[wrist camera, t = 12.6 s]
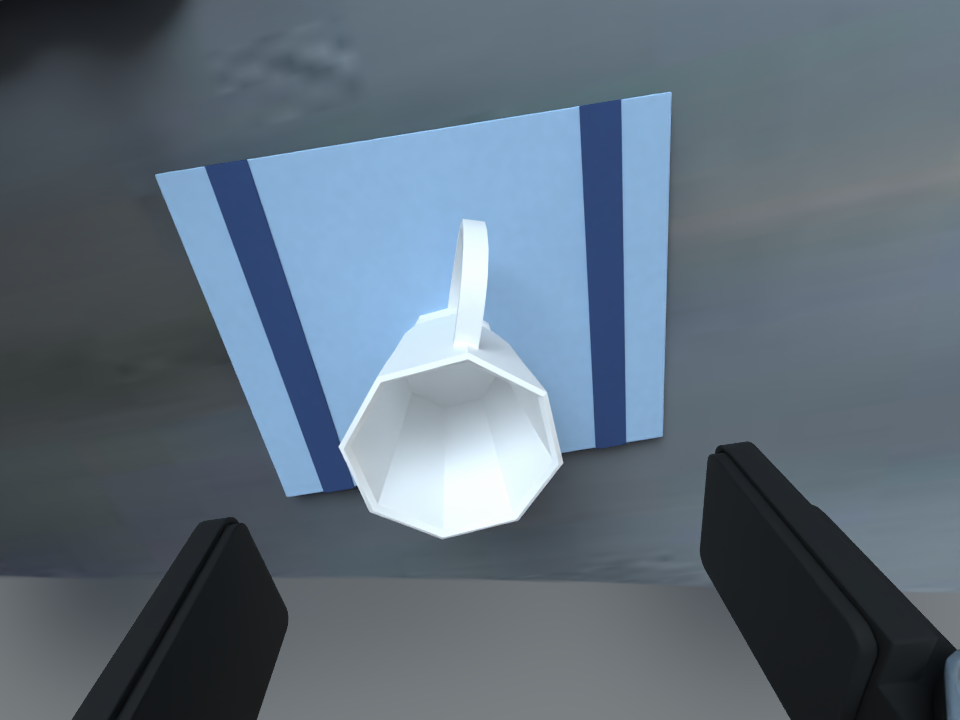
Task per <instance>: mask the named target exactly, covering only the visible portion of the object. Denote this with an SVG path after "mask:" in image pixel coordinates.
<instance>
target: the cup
mask: <svg viewBox="0 0 960 720" xmlns="http://www.w3.org/2000/svg"><path fill="white" fill-rule="evenodd" d="M488 252H489V247H488V236H487V228H486V224H485V222H484V221H476V220H469V219H462V221H461V224H460V229H459V234H458V240H457V246H456V252H455V258H454V265H453V271H452V278H451V285H450V292H449V301H448V308H447V309H443V310H440V311H436V312H432V313H429V314H425V315H421V316H420V317H419V318H418V320H417V322H416V324H415V326H414V327H412V328H411V329H410V330H409V331H407V332H406V333H405V334H404V336H403V338H402V339H401V341H400V342H399V344H398V346H397V347H396V349H395V351H394V352H393V354H392V355H391V356H390V358H389V359H388V361H387V362H386V364H385V365H384V367H383V368H382V370H381V372H380V373H379V375H378V376H377V378H376V380H375V382H374V384H373V385H372V387H371V389H370V391H369V393H368V394H367V396H366V398H365V400H364V402H363V403H362V405H361V407H360V409H359V411H358V413H357V414H356V416H355V418H354V420H353V422H352V423H351V425H350V427H349V429H348V431H347V432H346V434H345V436H344V438H343V440H342V442H341V443H340V445H339V449H340V451H341V453H342V455H343V457H344V459H345V461H346V463H347V465H348V467H349V470H350V472H351V474H352V476H353V478H354V480H355V482H356V484H357V486H358V488H359V491H360V493H361V495H362V497H363V499H364V501H365V503H366V505H367V507H368V509H369V511H370V512H371V513H374V514H377V515H379V516H382V517H384V518H387V519H390V520H392V521H395V522H398V523H400V524H403V525H406V526H408V527H411V528H414V529H416V530H419V531H422V532H424V533H427V534H430V535H432V536H435V537H438V538H440V539H446V538H450V537H454V536H458V535H462V534H466V533H470V532H474V531H478V530H482V529H486V528H490V527H494V526H498V525H502V524H506V523H510V522H514V521H518V520H519V519H520V518H521V517H522V515H523V514H524V513H525V511H526V510H527V509H528V508H529V506H530V505H531V504H532V502H533V501H534V500H535V499H536V497H537V496H538V495H539V494H540V492H541V491H542V490H543V488H544V487H545V486H546V485H547V483H548V482H549V481H550V479H551V478H552V477H553V476H554V474H555V473H556V472H557V470H558V469H559V468H560V467H561V465H562V464H563V460H562V455H561V451H560V447H559V442H558V438H557V433H556V429H555V425H554V420H553V416H552V411H551V407H550V403H549V398H548V394H547V392H546V390H545V389H544V388H543V386H542V385H541V384H540V382H539V381H538V380H537V379H536V377H535V376H534V375H533V374H532V373H531V371H530V370H529V369H528V368H527V367H526V365H525V364H524V363H523V362H522V360H521V359H520V358H519V356H518V355H517V354H516V352H515V351H514V350H513V348H512V347H511V346H510V344H509V343H507V342H506V341H505V340H503V339H502V338H501V337H499V336H498V335H497V334H495V333H494V332H493V331H491V330H490V326H489V323H487V322H486V321H484V320H483V315H484V308H485V299H486V289H487V279H488Z"/></svg>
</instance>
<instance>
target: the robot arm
mask: <svg viewBox="0 0 960 720" xmlns="http://www.w3.org/2000/svg"><path fill="white" fill-rule="evenodd" d="M700 556H701V560H702V563H703V566H704V568H705V570H706V572H707V574H708V575H709V577H710V579H711V581H712V583H713V584H714V586H715V588H716V590H717V591H718V593H719V595H720V597H721V598H722V600H723V602H724V604H725V605H726V607H727V609H728V611H729V612H730V614H731V616H732V618H733V619H734V621H735V623H736V625H737V626H738V628H739V630H740V632H741V633H742V635H743V637H744V639H745V640H746V642H747V644H748V645H749V647H750V649H751V651H752V653H753V654H754V656H755V658H756V660H757V661H758V663H759V665H760V667H761V668H762V670H763V672H764V674H765V675H766V677H767V679H768V681H769V682H770V684H771V686H772V688H773V689H774V691H775V693H776V694H777V696H778V698H779V700H780V702H781V703H782V705H783V707H784V709H785V710H786V712H787V714H788V716H789V717H790V719H791V720H960V650H957V649H956V648H955V647H954V646H953V645H952V644H951V643H950V642H949V641H948V640H947V639H946V638H945V637H944V636H943V635H942V634H941V633H940V632H939V631H938V630H937V629H936V628H935V627H934V626H933V625H932V624H931V623H930V621H929V620H928V619H926V617H925V616H924V615H923V614H922V613H921V612H920V611H919V610H918V609H917V608H916V607H915V606H914V605H913V604H912V603H911V602H910V601H909V600H908V599H907V598H906V597H905V596H904V595H903V593H902V592H901V591H900V590H899V589H898V588H897V587H896V586H895V585H894V584H893V583H892V582H891V581H890V580H889V579H888V578H887V577H886V576H885V575H884V574H883V573H882V572H881V571H880V570H879V569H878V568H877V567H876V566H875V565H874V563H873V562H872V561H871V560H870V559H869V558H868V557H867V556H866V555H865V554H864V553H863V552H862V551H861V550H860V549H859V548H858V547H857V546H856V545H855V544H854V543H853V542H852V541H851V540H850V539H849V538H848V537H847V536H846V534H845V533H844V532H843V531H842V530H841V529H840V528H839V527H838V526H837V525H836V524H835V523H834V522H833V521H832V520H831V519H830V518H829V517H828V516H827V515H826V514H825V513H824V512H823V511H822V510H820V509H819V508H818V507H816V506H814V505H811V504H810V503H809V502H808V501H807V500H806V498H805V497H804V496H803V495H802V494H801V493H800V492H799V491H798V490H797V489H796V488H795V487H794V486H793V485H792V484H791V483H790V482H789V481H788V480H787V479H786V477H785V476H784V475H783V474H782V473H781V472H780V471H779V470H778V469H777V468H776V467H775V466H774V465H773V464H772V463H771V462H770V461H769V460H768V459H767V458H766V456H765V455H764V454H763V453H762V452H761V451H760V450H759V449H758V448H757V447H756V446H755V445H754V444H752V443H751V442H748V441H747V442H740V443H734V444H727V445H720V446H718V447H717V448H716V451H715V454H711V455H709V457H708V461H707V473H706V485H705V496H704V508H703V520H702V531H701V543H700ZM287 626H288V611H287V608H286V606H285V604H284V602H283V600H282V598H281V596H280V594H279V592H278V590H277V588H276V586H275V584H274V581H273V580H272V577H271V575H270V573H269V571H268V569H267V567H266V565H265V563H264V561H263V559H262V557H261V555H260V553H259V551H258V549H257V547H256V544H255V542H254V540H253V538H252V536H251V534H250V532H249V530H248V528H247V526H246V525H245V524H243V523H239V522H238V521H237V519H235V518H233V517H228V518H221V519H215V520H208V521H203V522H201V523H199V525H198V526H197V527H196V528H195V530H194V531H193V533H192V534H191V536H190V538H189V539H188V541H187V542H186V544H185V545H184V547H183V548H182V550H181V551H180V553H179V555H178V556H177V558H176V559H175V561H174V562H173V564H172V565H171V567H170V568H169V570H168V572H167V573H166V575H165V576H164V578H163V579H162V581H161V582H160V584H159V586H158V587H157V589H156V590H155V592H154V593H153V595H152V596H151V598H150V600H149V601H148V602H147V604H146V606H145V607H144V609H143V610H142V612H141V613H140V615H139V616H138V618H137V619H136V621H135V623H134V624H133V626H132V627H131V629H130V630H129V632H128V633H127V635H126V637H125V638H124V640H123V641H122V643H121V644H120V646H119V647H118V649H117V651H116V653H115V654H114V655H113V657H112V658H111V660H110V661H109V663H108V664H107V666H106V667H105V669H104V671H103V672H102V674H101V675H100V677H99V678H98V680H97V681H96V683H95V685H94V686H93V688H92V689H91V691H90V692H89V694H88V695H87V697H86V698H85V700H84V701H83V703H82V705H81V706H80V708H79V709H78V711H77V712H76V714H75V716H74V717H73V719H72V720H257V717H258V714H259V711H260V708H261V705H262V702H263V699H264V696H265V693H266V690H267V687H268V684H269V681H270V678H271V675H272V672H273V669H274V666H275V663H276V660H277V657H278V654H279V651H280V648H281V645H282V642H283V639H284V636H285V633H286V630H287Z"/></svg>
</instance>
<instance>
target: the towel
mask: <svg viewBox="0 0 960 720" xmlns="http://www.w3.org/2000/svg"><path fill="white" fill-rule="evenodd" d="M671 94H672V93H671V92H665V93H659V94H653V95H646V96H640V97H634V98H628V99H621V100H615V101H608V102H602V103H596V104H590V105H583V106H578V107H571V108H565V109H559V110H553V111H547V112H540V113H534V114H528V115H522V116H515V117H509V118H503V119H497V120H490V121H484V122H478V123H472V124H465V125H459V126H453V127H447V128H441V129H434V130H428V131H422V132H416V133H409V134H403V135H397V136H391V137H384V138H378V139H372V140H366V141H359V142H353V143H347V144H341V145H335V146H328V147H322V148H316V149H310V150H303V151H297V152H291V153H285V154H278V155H272V156H266V157H260V158H253V159H247V160H240V161H234V162H228V163H222V164H216V165H209V166H204V167H197V168H191V169H185V170H179V171H172V172H166V173H160V174H156V175H155V177H156V180H157V182H158V184H159V187H160V189H161V192H162V194H163V197H164V199H165V201H166V204H167V206H168V209H169V211H170V214H171V216H172V218H173V221H174V223H175V226H176V228H177V231H178V233H179V235H180V238H181V240H182V243H183V245H184V248H185V250H186V253H187V255H188V257H189V260H190V262H191V265H192V267H193V270H194V272H195V274H196V277H197V279H198V282H199V284H200V287H201V289H202V291H203V294H204V296H205V299H206V301H207V304H208V306H209V308H210V311H211V313H212V316H213V318H214V321H215V323H216V325H217V328H218V330H219V333H220V335H221V338H222V340H223V342H224V345H225V347H226V350H227V352H228V355H229V357H230V360H231V362H232V364H233V367H234V369H235V372H236V374H237V377H238V379H239V381H240V384H241V386H242V389H243V391H244V394H245V396H246V398H247V401H248V403H249V406H250V408H251V411H252V413H253V415H254V418H255V420H256V423H257V425H258V428H259V430H260V432H261V435H262V437H263V440H264V442H265V445H266V447H267V449H268V452H269V454H270V457H271V459H272V462H273V464H274V467H275V469H276V471H277V474H278V476H279V479H280V481H281V484H282V486H283V488H284V491H285V493H286V496H287V497H292V496H298V495H304V494H310V493H317V492H323V491H324V493H327V492H333V491H339V490H346V489H352V488H354V486H357V484H356V482H355V480H354V478H353V476H352V474H351V472H350V470H349V467H348V465H347V463H346V461H345V459H344V457H343V455H342V453H341V451H340V449H339V445H340V443H341V442H342V440H343V438H344V436H345V434H346V432H347V431H348V429H349V427H350V425H351V423H352V422H353V420H354V418H355V416H356V414H357V413H358V411H359V409H360V407H361V405H362V403H363V402H364V400H365V398H366V396H367V394H368V393H369V391H370V389H371V387H372V385H373V384H374V382H375V380H376V378H377V376H378V375H379V373H380V372H381V370H382V368H383V367H384V365H385V364H386V362H387V361H388V359H389V358H390V356H391V355H392V354H393V352H394V351H395V349H396V347H397V346H398V344H399V342H400V341H401V339H402V338H403V336H404V334H405V333H406V332H407V331H409V330H410V329H411V328H412V327H414V326H415V324H416V322H417V320H418V318H419V317H420V316H421V315H425V314H429V313H432V312H436V311H440V310H443V309H447V308H448V301H449V292H450V285H451V278H452V271H453V265H454V258H455V252H456V246H457V240H458V234H459V229H460V224H461V221H462V219H469V220H476V221H484V222H485V224H486V228H487V236H488V247H489V252H488V279H487V289H486V299H485V308H484V315H483V320H484V321H486V322H487V323H489V326H490V330H491V331H493V332H494V333H495V334H497V335H498V336H499V337H501V338H502V339H503V340H505V341H506V342H507V343H509V344H510V346H511V347H512V348H513V350H514V351H515V352H516V354H517V355H518V356H519V358H520V359H521V360H522V362H523V363H524V364H525V365H526V367H527V368H528V369H529V370H530V371H531V373H532V374H533V375H534V376H535V377H536V379H537V380H538V381H539V382H540V384H541V385H542V386H543V388H544V389H545V390H546V392H547V394H548V398H549V403H550V407H551V411H552V416H553V420H554V425H555V429H556V433H557V438H558V442H559V447H560V451H561V453H564V452H570V451H577V450H583V449H589V448H595V447H596V449H599V448H606V447H612V446H618V445H624V444H626V442H632V441H639V440H645V439H651V438H657V437H662V436H663V408H664V369H665V329H666V290H667V251H668V212H669V172H670V133H671Z"/></svg>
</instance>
